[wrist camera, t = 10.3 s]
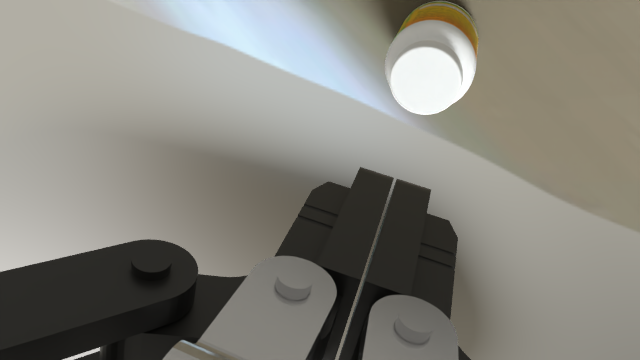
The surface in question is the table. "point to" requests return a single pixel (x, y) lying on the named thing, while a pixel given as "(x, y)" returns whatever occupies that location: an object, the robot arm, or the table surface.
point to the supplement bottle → (432, 57)
